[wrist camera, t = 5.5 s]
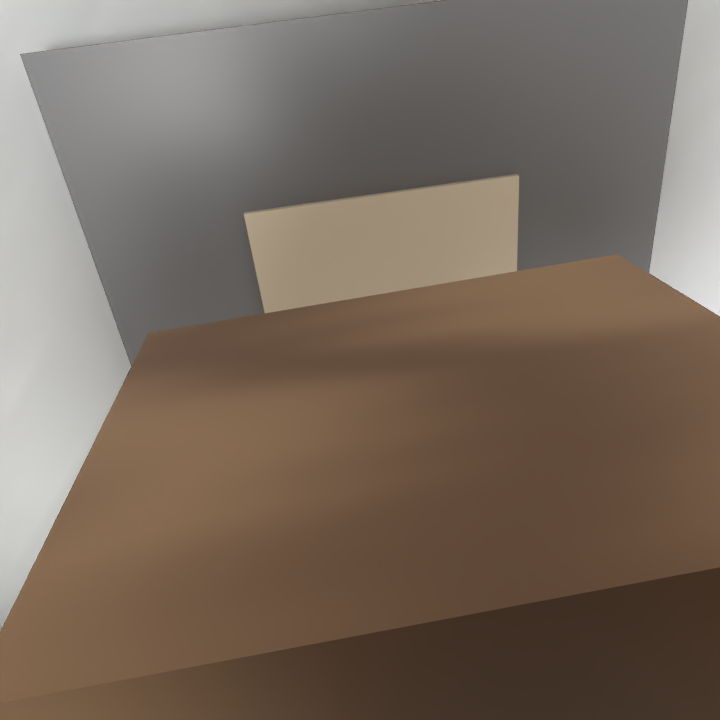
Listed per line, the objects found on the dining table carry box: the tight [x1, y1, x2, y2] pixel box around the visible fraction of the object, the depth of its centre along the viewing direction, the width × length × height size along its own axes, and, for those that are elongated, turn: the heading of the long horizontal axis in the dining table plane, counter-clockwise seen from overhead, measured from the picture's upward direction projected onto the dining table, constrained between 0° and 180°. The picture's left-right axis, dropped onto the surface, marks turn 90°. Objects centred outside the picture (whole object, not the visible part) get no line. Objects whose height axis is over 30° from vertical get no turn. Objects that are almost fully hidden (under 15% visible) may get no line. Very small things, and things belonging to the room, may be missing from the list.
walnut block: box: [0, 254, 720, 720], centre depth 7 cm, size 6×6×5 cm
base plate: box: [20, 0, 688, 366], centre depth 18 cm, size 16×16×2 cm
